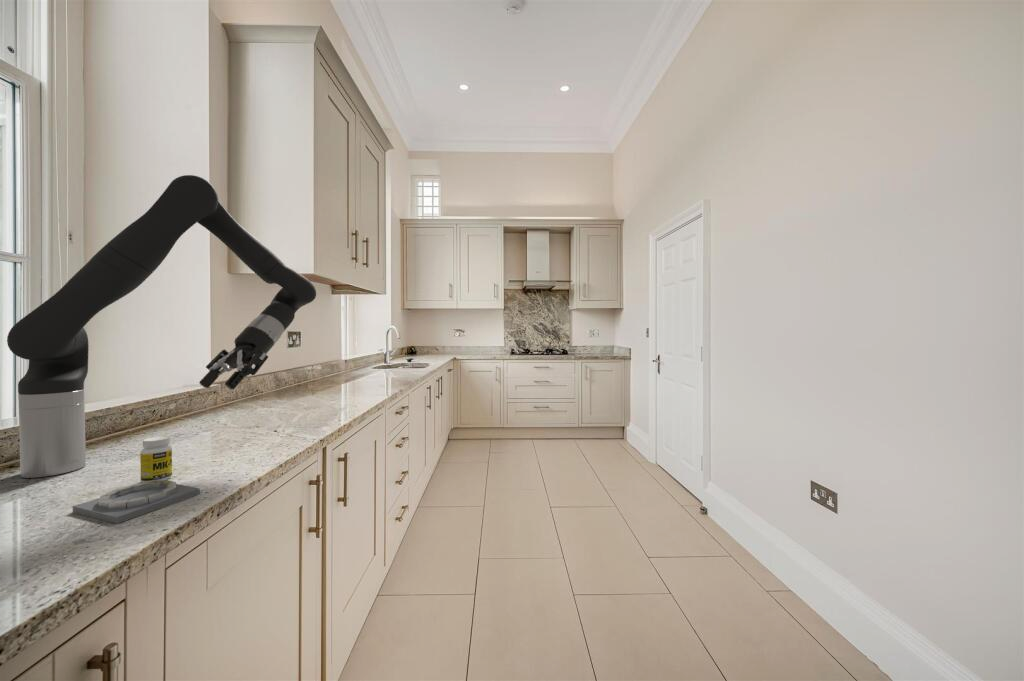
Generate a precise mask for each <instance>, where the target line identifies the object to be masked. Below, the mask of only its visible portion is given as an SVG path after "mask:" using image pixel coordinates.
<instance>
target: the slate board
mask: <svg viewBox="0 0 1024 681" xmlns="http://www.w3.org/2000/svg"><path fill="white" fill-rule="evenodd" d="M162 490H164V489H162V488H156V489H146V490H141V491H135V492H131V493H128V494H125V495H122V496H119V497H117V498H115V499H113V500H130V499H135V498H140V497H145V496H148V495H151V494H155V493H158V492H160V491H162ZM200 494H201V488H200V487H195V486H189V485H185V484H177V483H176V492H175V493H173V494H172V495H170V496H168V497H167V498H164V499H161V500H158V501H155V502H152V503H149V504H145V505H141V506H136V507H131V508H126V509H112V510H107V509H102V508H98V501H99V498H100V497H98V498H96V499H92V500H88V501H86V502H81V503H79V504H76V505H73V506H72V513H75V514H79V515H82V516H87V517H90V518H94V519H98V520H100V521H101V520H102V521H106V522H110V523H114V524H119V523H122V522H126V521H128V520H131V519H134V518H136V517H139V516H142V515H144V514H147V513H151V512H153V511H156V510H158V509H162V508H164V507H167V506H170V505H174V504H177V503H178V502H181V501H183V500H186V499H189V498H192V497H194V496H197V495H200Z"/></svg>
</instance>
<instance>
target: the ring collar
mask: <svg viewBox="0 0 1024 681" xmlns="http://www.w3.org/2000/svg"><path fill="white" fill-rule="evenodd" d="M176 484H177V482H176V481H172V480H169V479H167V480H164V481H151V482H145V483H142V482H139V483H135V484H134V483H133V484H130V485H127V486H123V487H120V488H116V489H113V490H111V491H108V492H107V493H105V494H102V495H101V496H99V497H98V498H99V501H98V508H102V509H107V510H112V509H126V508H131V507H136V506H141V505H145V504H149V503H152V502H155V501H158V500H161V499H164V498H167V497H168V496H170V495H172V494H173V493H175V492H176ZM156 488H162V489H164V490H162V491H160V492H158V493H155V494H151V495H148V496H145V497H140V498H135V499H130V500H113V499H115V498H117V497H119V496H122V495H125V494H128V493H131V492H135V491H141V490H146V489H156Z"/></svg>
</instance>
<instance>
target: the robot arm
mask: <svg viewBox="0 0 1024 681" xmlns="http://www.w3.org/2000/svg"><path fill="white" fill-rule="evenodd" d="M197 223H198V224H199V225H200V226H202V227H203V228H205V229H206V230H208V231H209V232H210V233H211V234H212V235H214V236H215V237H216V238H218V240H219V241H221V243H223V244H224V245H225V246H227V248H228V249H229V250H230V251H232V252H233V254H235V256H236V257H238V258H239V259H240V261H242V262H243V264H244V265H246V266H247V268H249V269H250V270H251V271H253V273H254V274H255V275H257V277H259V278H260V279H261V280H262V281H263V282H264V283H266V284H270V285H272V284H276V285H278V286H280V287H281V289H280V290H279V291H278V292H276V294H275V296H274V297H273V298H272V300H271V302H270V304H268V305H267V306H265V308H264V309H263V311H262V312H261V313H260V314H259V315H257V317H255V318H254V319H252V320H251V321H250V323H249V324H248V325H247V326H246V327H245V328H243V330H242V331H241V332H240V333H239V334H238V335H237V336H236V337H235V339H234V345H235V347H234V348H233V349H231V350H230V351H227V350H226V349H222V350H221V351H220V352H218V354H217V355H216V356H215V357H213V359H212V360H211V361H210V362H208V364H207V365H206V366H205V368H206V369H208V372H207V373H205V376H203V378H202V379H200V381H199V384H200V386H201V387H204V388H205V389H208V388H210V387H211V386H212V385H213V383H214V382H216V380H218V378H219V377H220V376H221V375H223V374H224V373H226V372H227V373H228V372H231V371H233V370H234V372H233V374H231V375H230V376H229V378H228V379H227V380H226V381H225V383H224V385H225V387H227V388H228V389H229V390H235V389H236V387H237V386H238V385H239V384H240V383H241V382H242V381H243V380H244V378H247V377H249V376H250V375H251V376H255V375H256V374H257V373H258V371H259V370H260V369H261V368H262V366H263V365H264V363H265V362H266V361H267V359H268V358H269V356H268V355H267V354H268V353H269V351H271V349H272V348H273V347H274V346H275V344H276V343H277V342H278V341H279V340H280V338H281V337H282V335H283V334H284V332H285V331H286V330H287V329H288V328H289V326H290V325H291V324H292V322H293V321H294V320H295V314H296V313H297V311H298V310H299V309H300V308H301V307H304V306H305V305H308V304H310V303H312V302H313V301H314V300H315V299H316V297H317V290H316V288H315V286H314V284H313V283H312V281H310V280H309V278H306V276H304V275H303V274H301V273H300V272H297V271H296V270H295V269H293V268H291V267H289V266H288V265H286V264H285V263H284V262H283V261H282V259H280V258H279V257H278V256H277V255H276V254H275V253H274V252H273V251H272V250H271V249H270V248H268V246H266V245H265V244H264V243H262V241H260V240H259V239H258V238H257V237H255V236H254V235H253V234H251V233H250V232H249V231H248V230H246V228H244V227H243V226H242V225H241V224H240V223H239V222H238V221H237V220H236V219H234V217H233V216H231V214H230V213H229V212H228V210H226V208H225V207H224V206H223V205H222V203H221V202H220V200H219V196H218V193H217V190H216V189H215V188H214V186H213V184H212V183H210V182H209V181H208V180H206V179H205V178H203V177H201V176H198V175H193V174H187V175H186V174H185V175H181V176H177V177H175V178H174V179H173V180H171V182H170V184H169V185H168V186H167V187H166V188H165V190H164V191H163V192H162V194H161V195H160V196H159V197H158V198H157V200H156V201H155V202H154V203H153V205H152V206H150V207H149V209H148V210H147V211H146V212H145V213H144V214H142V215H141V216H140V217H138V218H137V219H136V220H134V221H133V222H132V223H130V224H129V225H128V226H126V227H125V228H124V229H123V230H121V231H120V232H119V233H118V234H116V236H114V237H113V238H111V240H110V241H107V243H106V244H105V245H104V246H103V247H102V248H101V249H100V250H98V251H97V252H96V253H95V254H94V255H93V256H92V257H91V259H89V260H88V261H87V262H86V263H85V264H84V265H83V266H82V267H81V268H80V269H78V271H77V272H76V273H75V274H74V275H73V276H72V277H71V278H70V279H69V280H67V282H66V283H65V284H64V285H63V286H62V287H61V288H60V289H59V290H58V291H56V292H55V293H54V294H53V295H52V296H50V297H48V299H46V301H45V302H43V303H42V304H40V305H38V306H37V307H36V308H35V309H33V310H32V311H30V313H28V314H27V315H25V316H23V317H22V318H21V319H19V320H18V321H16V323H15V324H14V325H13V326H12V327H11V328H10V330H9V332H8V334H7V339H6V342H7V343H6V344H7V347H8V349H9V351H11V353H12V354H14V355H15V356H16V357H18V358H20V359H24V360H27V361H28V367H27V368H28V369H27V372H25V375H24V376H23V377H21V379H20V380H19V381H18V384H17V393H18V394H17V398H18V427H19V431H18V432H19V471H20V476H19V477H20V478H24V479H25V478H26V479H27V478H28V479H31V478H32V479H34V478H43V477H49V476H51V477H52V476H55V475H56V476H57V475H61V474H66V473H69V472H73V471H77V470H80V469H82V468H84V467H86V464H87V461H86V460H87V458H86V456H87V455H86V452H87V451H86V447H87V446H86V422H85V421H86V415H85V414H86V412H85V407H86V406H85V381H86V379H87V376H88V374H89V373H88V371H89V351H90V350H89V347H90V346H89V338H88V334H87V331H86V329H85V328H84V327H85V326H86V325H87V324H88V322H90V321H91V319H93V318H94V317H95V316H96V315H97V314H99V313H100V312H101V311H102V310H103V309H106V308H107V307H108V306H110V305H112V304H114V303H116V302H117V301H119V300H121V299H122V298H124V297H126V296H127V295H129V294H130V293H131V292H133V291H134V290H136V289H137V288H139V286H141V285H142V284H143V283H144V282H145V281H146V280H147V278H149V277H150V276H151V275H152V274H153V273H154V272H155V271H156V270H157V269H158V268H159V266H160V265H161V264H162V263H163V261H164V260H165V259H166V257H167V256H168V255H169V253H170V251H172V249H173V247H174V245H175V244H176V242H177V241H178V240H179V239H180V238H181V236H183V235H184V234H185V233H186V232H187V231H189V229H190V228H192V227H193V226H194V225H195V224H197ZM253 365H254V367H253ZM235 369H236V370H237V371H235Z"/></svg>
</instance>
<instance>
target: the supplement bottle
mask: <svg viewBox="0 0 1024 681" xmlns="http://www.w3.org/2000/svg"><path fill="white" fill-rule="evenodd" d="M139 454H140V458H139V459H140V460H139V461H140V483H145V482H151V481H164V480H169V479H171V478H172V476H173V447H172V446H171V445H170V436H167V435H161V436H153V437H148V438H144V439H143V440H142V449H141V451H140V453H139Z"/></svg>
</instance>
